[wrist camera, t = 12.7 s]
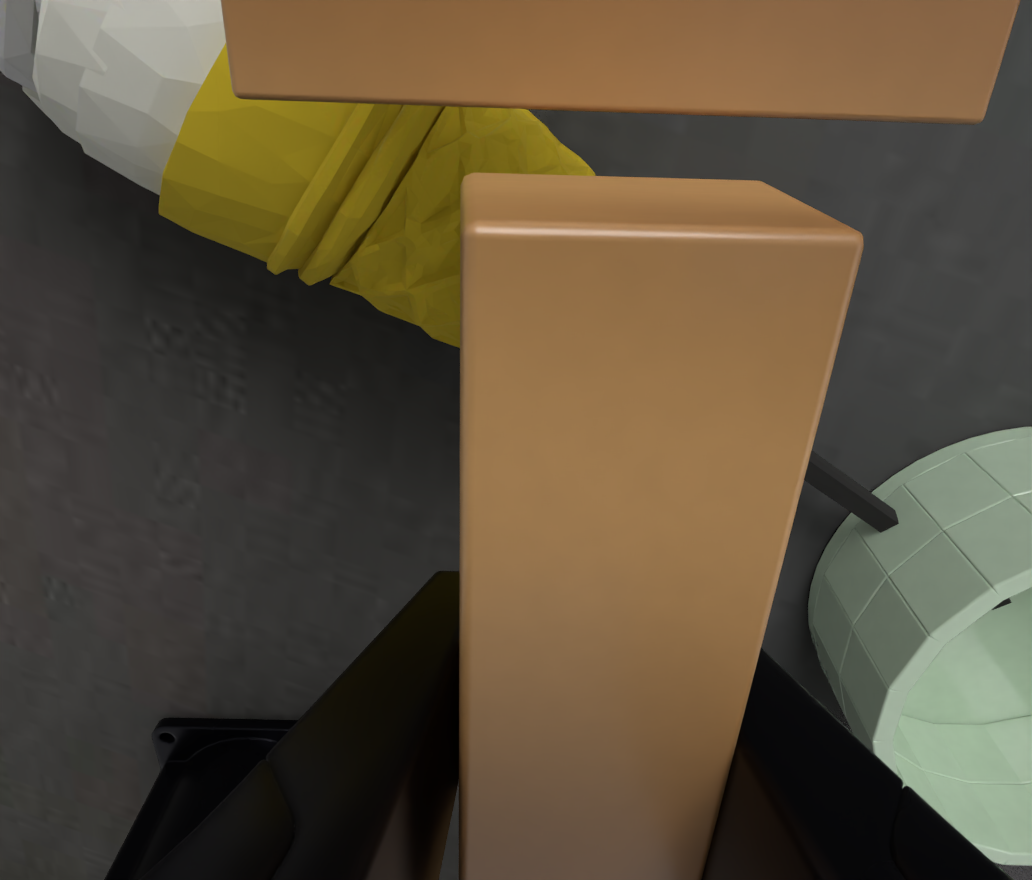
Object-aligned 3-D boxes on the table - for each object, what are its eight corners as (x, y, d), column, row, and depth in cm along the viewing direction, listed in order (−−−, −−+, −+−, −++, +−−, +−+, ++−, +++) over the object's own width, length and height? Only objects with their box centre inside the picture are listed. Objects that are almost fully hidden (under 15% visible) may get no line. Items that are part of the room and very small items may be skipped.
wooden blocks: (305, -418, 7) (-262, -2048, 2) (824, -374, 8) (1901, -1549, 2) (378, 679, 14) (324, 1121, 9) (650, 673, 15) (774, 1092, 9)
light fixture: (-76, -139, 15) (895, 535, 25) (-348, 7, 11) (909, 716, 22) (-85, -556, 10) (1093, 474, 21) (-535, -526, 7) (1150, 687, 18)
